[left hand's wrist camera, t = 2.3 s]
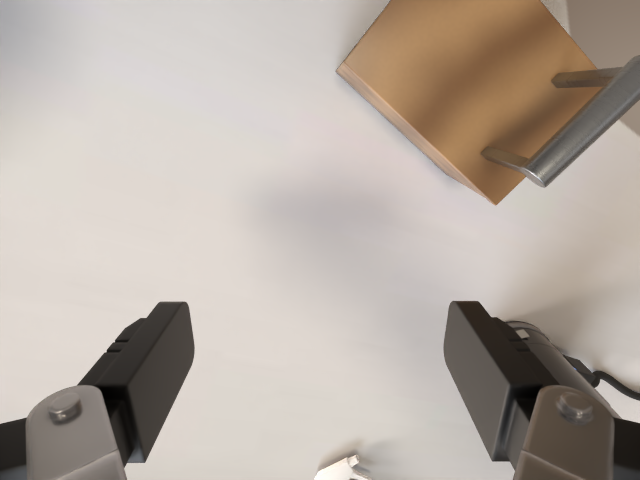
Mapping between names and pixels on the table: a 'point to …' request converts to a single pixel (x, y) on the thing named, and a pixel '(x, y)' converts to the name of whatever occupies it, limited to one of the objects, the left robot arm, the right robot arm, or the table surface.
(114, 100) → the table surface
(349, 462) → the spray bottle
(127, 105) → the table surface
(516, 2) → the wooden door panel
